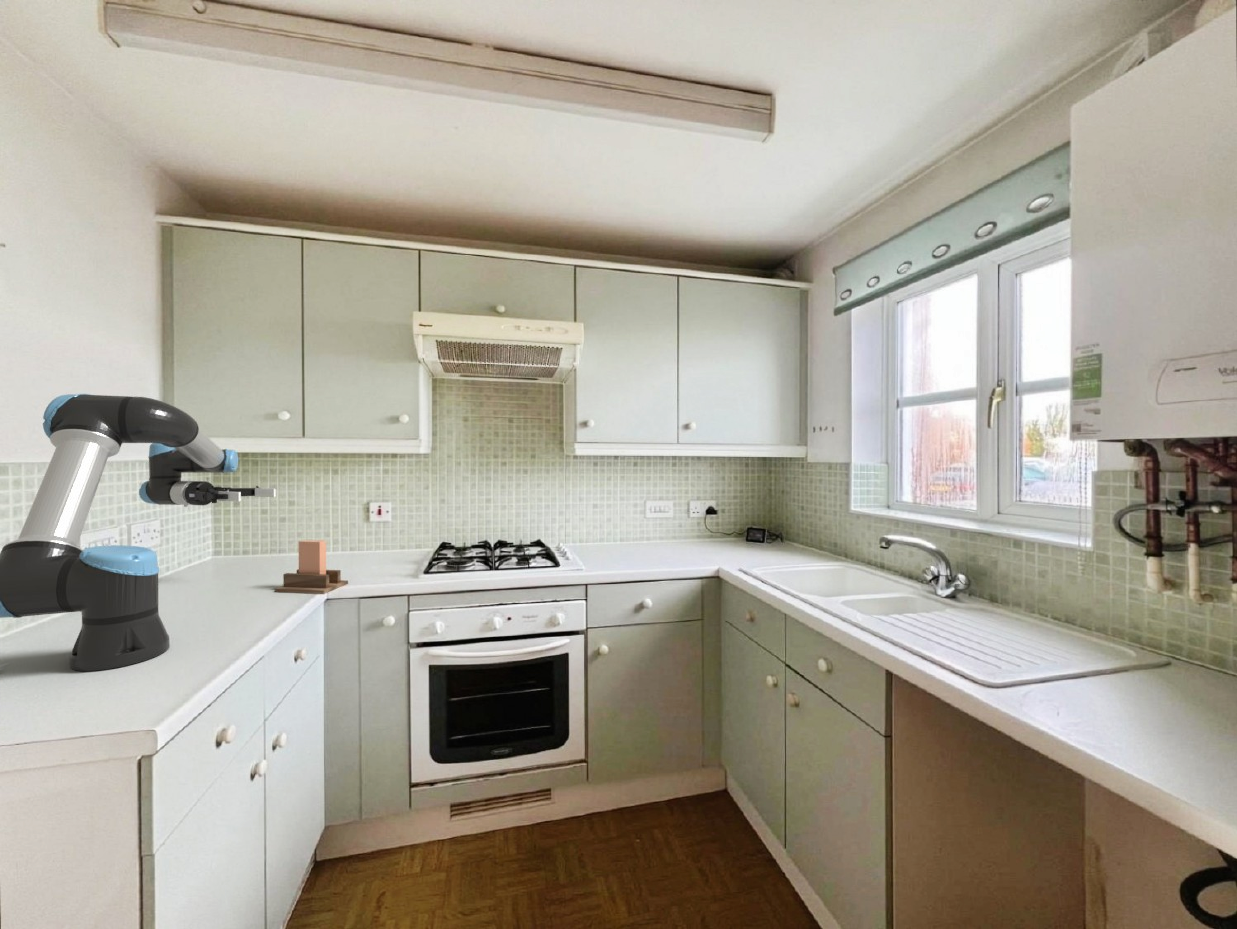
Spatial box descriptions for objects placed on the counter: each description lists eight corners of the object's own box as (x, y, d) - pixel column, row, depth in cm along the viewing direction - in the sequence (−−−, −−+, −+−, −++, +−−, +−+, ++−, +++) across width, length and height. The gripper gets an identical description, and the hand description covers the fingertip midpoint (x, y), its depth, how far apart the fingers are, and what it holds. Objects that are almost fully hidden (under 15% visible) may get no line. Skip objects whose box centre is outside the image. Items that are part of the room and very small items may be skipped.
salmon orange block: (319, 586, 158) (319, 542, 158) (298, 585, 159) (298, 541, 159) (326, 583, 161) (325, 540, 161) (305, 583, 162) (305, 539, 162)
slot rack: (323, 594, 154) (323, 577, 153) (274, 592, 155) (274, 576, 155) (348, 583, 166) (348, 568, 165) (302, 581, 167) (302, 567, 167)
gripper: (228, 501, 169) (287, 502, 168) (154, 509, 145) (223, 511, 143) (228, 478, 169) (287, 480, 168) (154, 483, 144) (223, 485, 143)
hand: (258, 494), depth 155 cm, fingers open, 13 cm apart
